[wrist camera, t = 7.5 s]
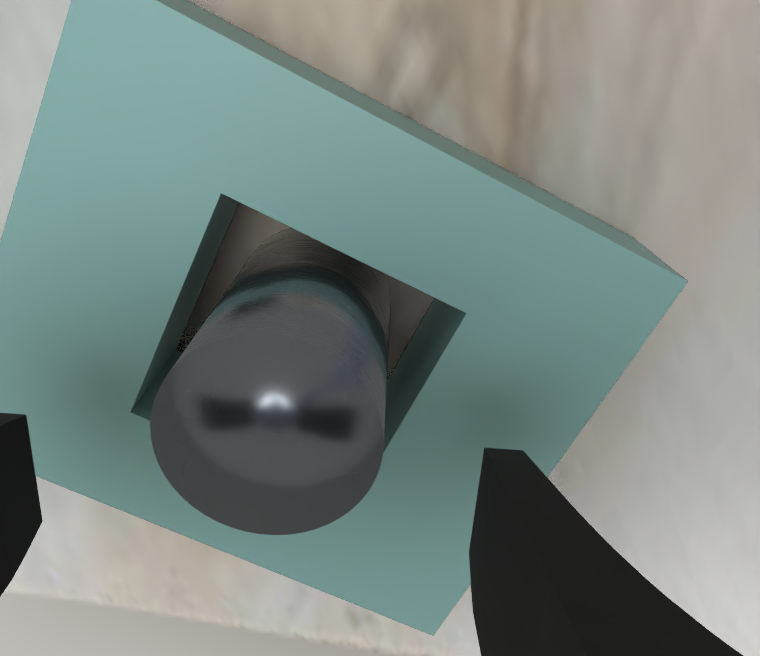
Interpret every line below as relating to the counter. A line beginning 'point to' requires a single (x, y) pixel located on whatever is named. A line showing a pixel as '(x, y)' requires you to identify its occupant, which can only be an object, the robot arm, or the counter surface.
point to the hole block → (328, 225)
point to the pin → (281, 392)
